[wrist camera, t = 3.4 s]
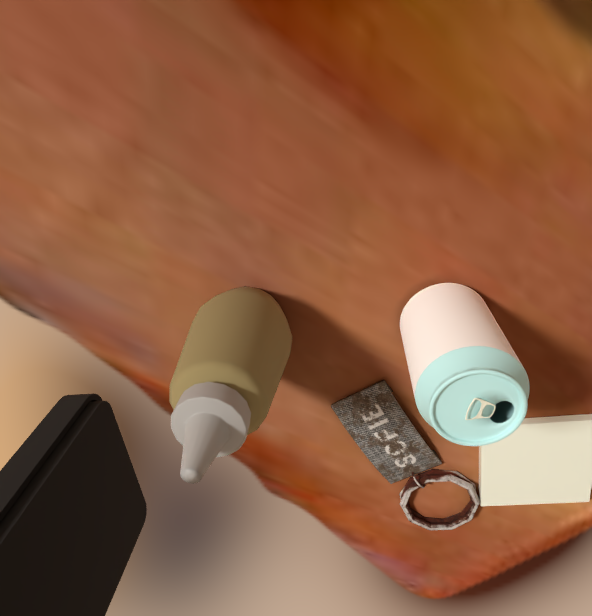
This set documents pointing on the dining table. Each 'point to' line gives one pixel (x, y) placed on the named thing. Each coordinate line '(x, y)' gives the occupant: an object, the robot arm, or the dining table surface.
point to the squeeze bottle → (227, 375)
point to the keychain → (399, 450)
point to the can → (462, 366)
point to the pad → (539, 463)
